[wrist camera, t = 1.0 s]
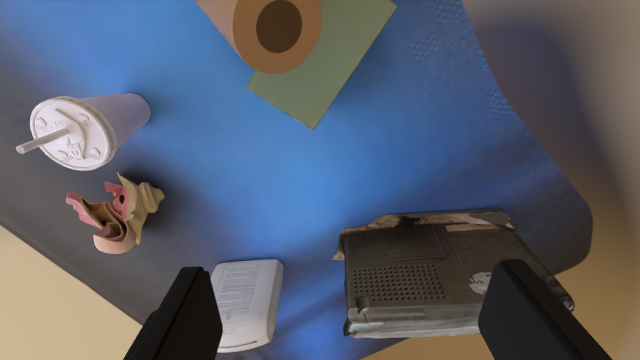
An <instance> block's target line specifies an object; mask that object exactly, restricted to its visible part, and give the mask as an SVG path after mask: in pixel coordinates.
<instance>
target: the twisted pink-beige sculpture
mask: <svg viewBox="0 0 640 360" xmlns="http://www.w3.org/2000/svg"><path fill="white" fill-rule="evenodd" d="M116 172H117V171H116ZM117 174H118V173H117ZM118 177H119V179H120V181H121V183H122V185H123V186H122V185H119V184H115V183H111V182H107V181H105V191H106V192H112V193H113V195H114V197H115V199H114V200H113V202H112V204H110V203H109V201H108V202H94V203H92V202H89V201H88V200H87V199H86V198H85V197H84V196H83V195H82V194H80V193H74V192H68V193H67V197H66V203H67V204H73V208H74V210H76V211H77V212H78V213H79V219H81V220H82V221H84V222H86V223H88V224H91V225H93V226H96V227H98V228H100V229H101V230H100V231H99V232H97V233H95V234H94V243H95V246H96V247H97V249H99V250H100V251H102V252H106V253H111V254H120V253H124V252H127V251H129V250H130V249H131V248H132V247H133V246H134V244H137V245H139V242H140V239H141V229H142V226H143V224H144V222H145V220H146V217H147V215H148V212H149V213H155V211H156V210H158V205H159V202H160V201H161V200H162V199H164V198H165V196H164V195H163V193H162V191H161V190H160V189H156V188H153V187H152V186H151V185H150V184H149V183H148V182H147V183H144V182H142V183H141V184H140V185H139V186H137V184H135V183H133V182H131V181H129V180H127V179H125V178H124V177H122V176H120V175H119V174H118Z"/></svg>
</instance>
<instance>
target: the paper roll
mask: <svg viewBox="0 0 640 360" xmlns="http://www.w3.org/2000/svg"><path fill="white" fill-rule="evenodd" d="M194 1H195V2H196V3H197V4H198V6H199V7H200V8H201V9H202V11H203V12H204V13H205V14H206V15H207V17H208V18H209V19H210V20H211V22H212V23H213V24H214V25H215V26H216V28H217V29H218V30H219V31H220V32H221V34H222V35H223V36H224V37H225V39H226V40H227V41H228V42H229V43H230V45H231V46H232V47H233V48H234V50H235V51H236V52H237V53H238V54H239V56H240V57H241V58H242V59H243V60H244V61H245V62H246V63H247V64H248V65H249V66H250V67H251V68H253V69H255V70H257V71H259V72H262V73H266V74H280V73H284V72H287V71H290V70H292V69H294V68H295V67H297V66H298V65H300V64H301V63H302V62H303V61H304V60H305V59H306V58H307V57H308V56H309V55H310V53H311V52H312V50H313V48H314V47H315V45H316V42H317V40H318V37H319V34H320V29H321V21H322V18H321V7H320V3H319V0H194Z"/></svg>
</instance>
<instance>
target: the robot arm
mask: <svg viewBox="0 0 640 360" xmlns="http://www.w3.org/2000/svg"><path fill="white" fill-rule="evenodd" d="M478 328H479V331H480V333H481V335H482V337H483V338H484V340H485V342H486V344H487V346H488V348H489V350H490V352H491V353H492V355H493V357H494V359H495V360H612V359H611V358H610V356H609V355H608V354H607V353H606V352H605V351H604V350H603V348H602V347H601V346H600V345H599V344H598V343H597V342H596V341H595V340H594V338H593V337H592V336H591V335H590V334H589V333H588V332H587V331H586V329H585V328H584V327H583V326H582V325H581V324H580V323H579V322H578V321H577V319H576V318H575V317H574V316H573V315H572V314H571V313H570V311H569V310H568V309H567V308H566V307H565V306H564V305H563V304H562V302H561V301H560V300H559V299H558V298H557V297H556V296H555V295H554V293H553V292H552V291H551V290H550V289H549V288H548V287H547V286H546V284H545V283H544V282H543V281H542V280H541V279H540V278H539V277H538V275H537V274H536V273H535V272H534V271H533V270H532V269H531V268H530V267H529V265H528V264H527V263H526V262H525V261H524V260H522V259H502V260H500V261H499V263H498V264H496V265H495V266H494V268H493V272H492V275H491V278H490V281H489V285H488V288H487V291H486V294H485V298H484V301H483V304H482V307H481V311H480V314H479V317H478ZM222 333H223V325H222V321H221V317H220V313H219V309H218V306H217V302H216V298H215V294H214V290H213V286H212V283H211V279H210V275H209V272H208V271H204V269H203V268H202V267H183V268H182V269H181V270H180V272H179V274H178V275H177V277H176V279H175V281H174V282H173V284H172V286H171V288H170V289H169V291H168V293H167V295H166V296H165V298H164V300H163V301H162V303H161V305H160V307H159V308H158V310H156V311H154V312H152V313H151V314H150V316H149V317H148V318H147V320H146V322H145V324H144V325H143V327H142V329H141V330H140V332H139V334H138V335H137V337H136V339H135V340H134V342H133V344H132V345H131V347H130V349H129V350H128V352H127V354H126V356H125V357H124V359H123V360H215V357H216V354H217V351H218V347H219V344H220V341H221V338H222Z"/></svg>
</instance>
